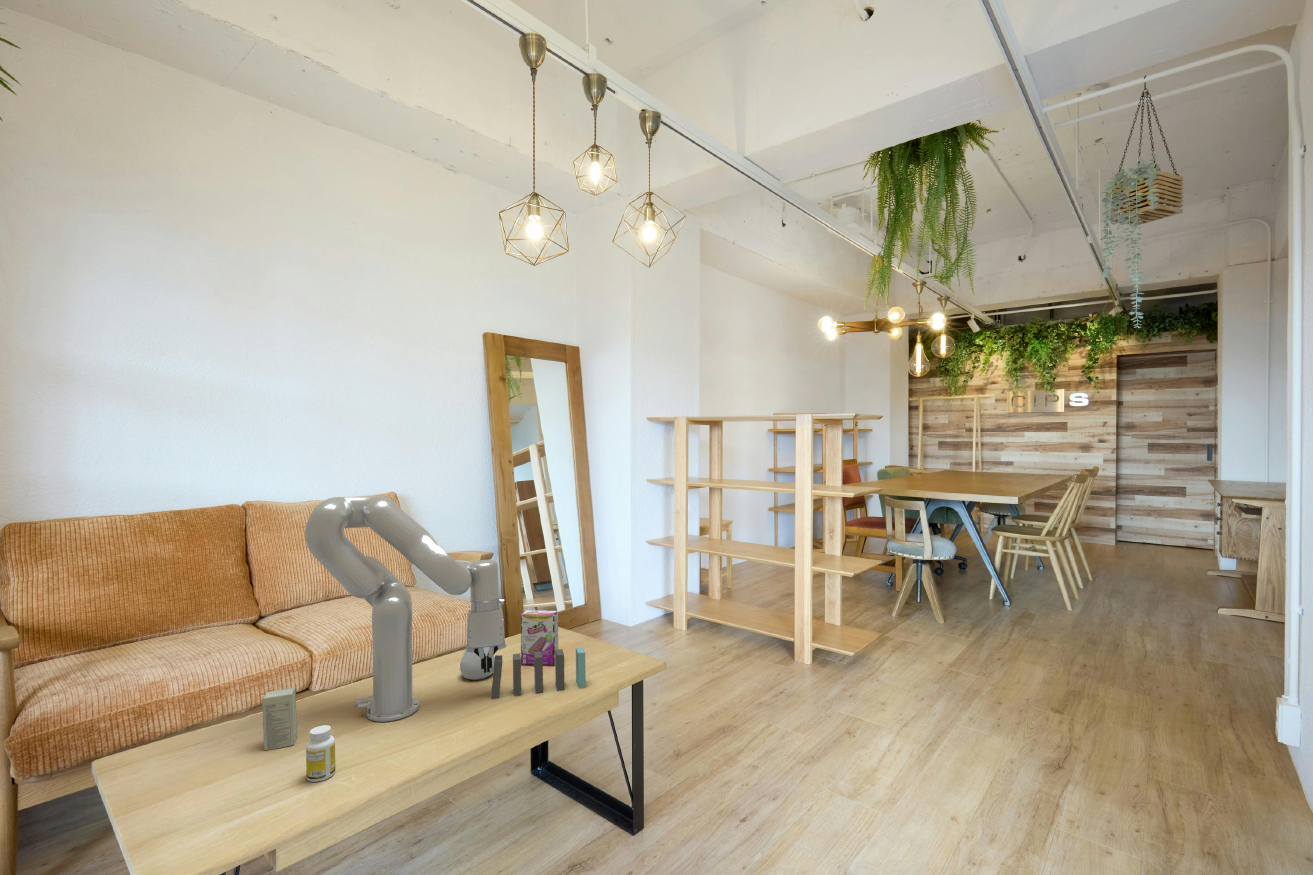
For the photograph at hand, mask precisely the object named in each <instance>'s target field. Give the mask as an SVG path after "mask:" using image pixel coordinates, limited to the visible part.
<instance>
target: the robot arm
mask: <svg viewBox="0 0 1313 875" xmlns="http://www.w3.org/2000/svg"><path fill="white" fill-rule="evenodd" d="M355 528H359V529H360V528H369V529H371V530H372V531H373V532H374V533H376V535H378V536H379V537H380V538H381V539H383V540H384V541H385V542H386V543H388V544H389V545H390V546H392V548H394V549H395V550H396V551H398V552H399V554H401V555H402V556H403V557H404V558H405V559H406V560H407V561H409V562H410V563H411V564H412V565H413V566H415V567H416V568H417V569H418V570H419V571H420V572H421V573H423V575H425V576H426V577H427V578H428V579H429V580H430V581H431V582H433V583H434V584H435V585H436V586H438V587H439V589H440V588H441V589H442V590H443V591H444V592H445V593H447V594H449V595H451V596H460V595H464V594H465V593H466V592H468V591H469V589H470V610H469V609H468V612H467V620H466V648H465V649H466V652H470V653H475V654H476V655H478V656H479V657H480V659H481V669H484V673H486V656H485V653H484V649H483V648H484V647H489V652H488V654H487V672H490V668H492V657H493V655H494V656H495V654H496V653H497V652H498V651H500V650H503V649H505V648H506V646H507V643H506V639H505V636H506V634H505V633H506V632H505V621H504V620H505V619H504V613H503V609H502V607H501V605H504V604H505V599H503V598H502V599H501V598H500V596H499V591H500V590H499V589H500V588H499V566H498V562H497V561H496V560H493V559H479V560H475V561H463V560H461V561H460V560H459V561H458V560H457V561H456V560H455V559H454V558H453V557H452V556H450V555H449V554H448V552H446V551H445V550H444V549H443V548H442V547H441V546H440V545H439V544H438V543H437V541H436V540H435V539H434V537H433V536H432V535H431V534H430V533H429V532H428V531H427V529H426V528H424V527H423V526H422V525H421V524H419V523H418V522H417V521H415V519H414V518H412V517H411V516H410V515H408V513H407V512H405V511H404V510H403V509H402V508H400V507H399V506H398V504H397V502H395V500H394V499H392V498H390V497H388V496H381V495H380V496H335V497H331V498H327V499H324V501H321V502H320V503H319V504H317V505H316V506H315V507H314V509H313V510H312V512H311V513H310V515H309V517H308V519H307V522H306V525H305V530H304V537H305V543H306V545H307V548H308V550H309V552H310V553H311V555H312V556H313V557H314V558H315V560H316V561H318V563H320V564H321V565H322V566H323V568H324V569H325V570H327V572H328V573H329V574H330V575H331V576H332V577H333V578H334V579H335V580H336V581H337V583H339V584H340V585H341V586H342V587H343V588H344V589H345V591H346V592H347V593H348V594H349V595H350V596H352V597H354V598H357V599H364V600H365V601H366V603H367V604H368V605H370V606H371V607H372V610H371V628H372V629H371V631H372V632H371V633H372V636H371V637H372V680H373V681H372V691H373V692H372V695H371V696H370V695H369V696H368V697H366V698H363V697H362V698H361V697H360V698H355V700H354V707H355V708H358V710H362V709H364V710H365V709H367V710H366V717H367V719H368V720H370V721H372V722H373V721H374V722H382V723H384V722H393V721H397V720H398V721H399V720H401V719H404V718H407V717H408V716H411V715H413V714H414V713H416V712H417V711H418V709H419V708H420V702H419V700H417V699H416V698H414V697H413V601H412V600H413V599H412V596H411V593H410V590H409V589H408V588H407V587H406V586H405V585H404V584H403V583H402V582H401V580H400V579H398V578H397V576H396V575H394V574H393V572H392V571H391V570H390V569H389V568H388V567H387V566H386V565H385V564H384V563H382V562H381V561H380V560H379V559H378V558H375V557H373V556H370V555H369V556H367V555H366V556H365V555H364V554H363V552H361V550H360V549H359V548H358V547H357V545H355V544H354V543H353V542H352V541H350V540H349V538H348V537H347V536H346V535H345V532H344V531H345V529H355Z"/></svg>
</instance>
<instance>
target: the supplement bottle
mask: <svg viewBox="0 0 1313 875" xmlns="http://www.w3.org/2000/svg"><path fill="white" fill-rule="evenodd" d="M305 760H306V761H305V762H306V763H305V766H306V773H305V774H306V780H307V781H309V782H310V783H311V782H312V783H316V782H317V783H318V782H322V781H325V780H327V779H329V778H331V777H333V776H334V774H335V773H336V739H335V737H334V736H333V735H332V727H331V725H328V724H327V725H323V724H322V725H319V726H316V727H313V728H312V729H311V730H309V740H308V741H307V743H306V746H305Z"/></svg>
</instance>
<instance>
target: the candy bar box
mask: <svg viewBox="0 0 1313 875" xmlns="http://www.w3.org/2000/svg"><path fill="white" fill-rule="evenodd" d="M558 649H559V611H558V610H539V609H538V610H537V609H536V610H535V609H532V610H531V609H525V610H524V611H523V612H522V613H521V614H520V656H521V666H534V652H539V651H541V652H542V656H543V667H545V666H547V667H548V666H550V667H551V666H552V667H555V650H558Z"/></svg>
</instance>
